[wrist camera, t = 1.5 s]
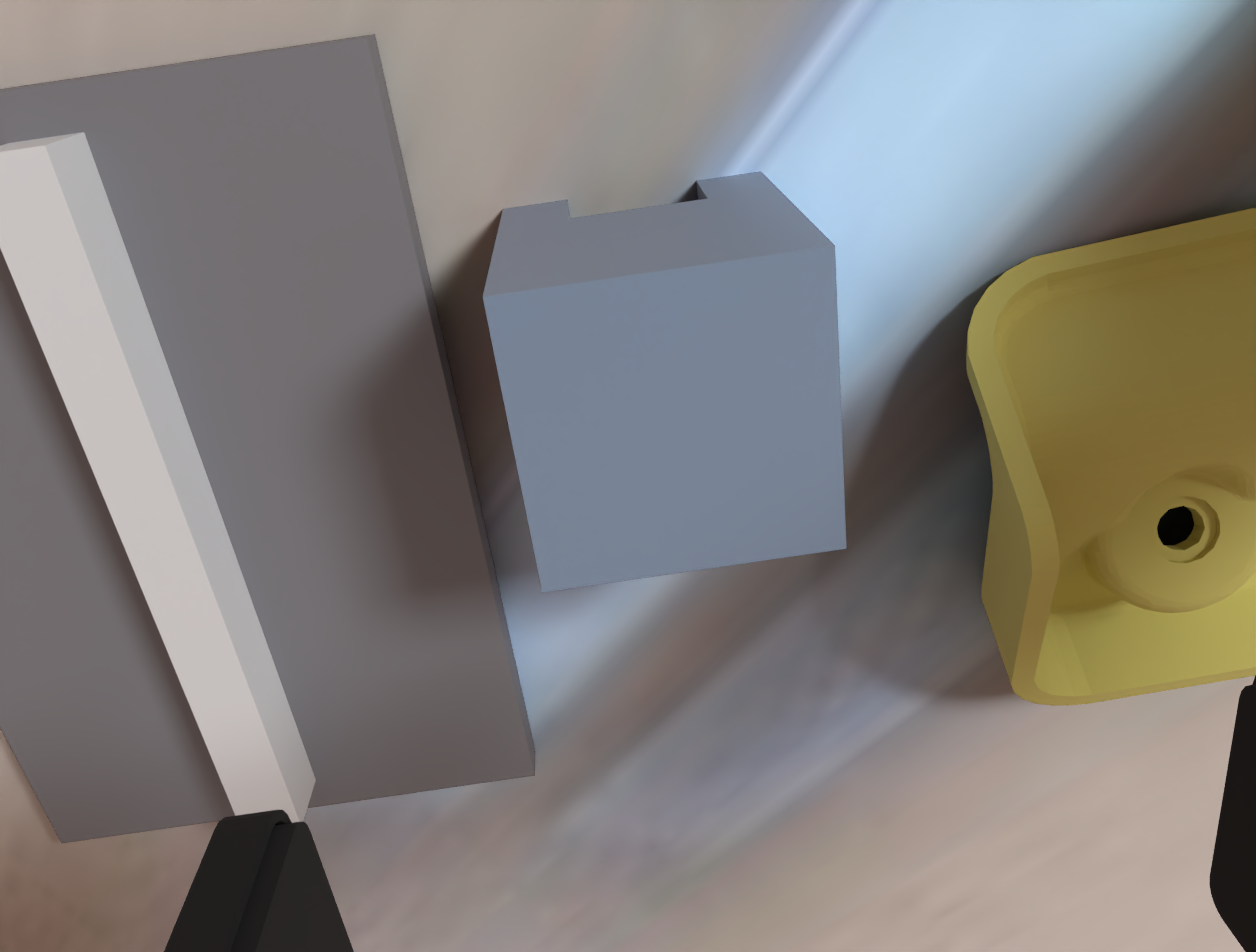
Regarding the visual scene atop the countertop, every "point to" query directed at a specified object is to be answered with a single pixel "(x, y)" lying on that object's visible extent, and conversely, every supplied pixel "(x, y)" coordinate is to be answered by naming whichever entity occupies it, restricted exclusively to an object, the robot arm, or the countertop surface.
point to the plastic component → (1122, 461)
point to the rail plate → (233, 456)
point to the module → (670, 382)
